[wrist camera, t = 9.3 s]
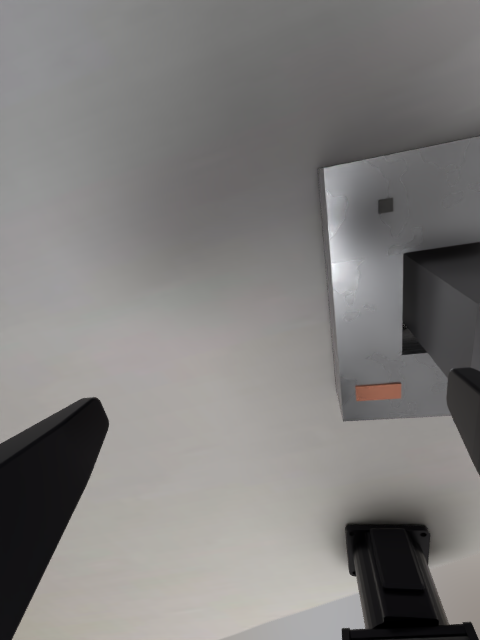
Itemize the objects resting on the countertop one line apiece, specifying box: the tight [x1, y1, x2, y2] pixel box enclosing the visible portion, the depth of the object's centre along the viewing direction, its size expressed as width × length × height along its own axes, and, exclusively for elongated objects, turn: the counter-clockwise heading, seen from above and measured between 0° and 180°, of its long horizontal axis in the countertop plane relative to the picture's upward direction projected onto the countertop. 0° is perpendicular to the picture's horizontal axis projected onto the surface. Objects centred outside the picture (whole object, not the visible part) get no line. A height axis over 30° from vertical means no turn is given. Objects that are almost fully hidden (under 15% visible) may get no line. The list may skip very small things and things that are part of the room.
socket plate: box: [318, 136, 480, 421], centre depth 17 cm, size 14×12×3 cm
